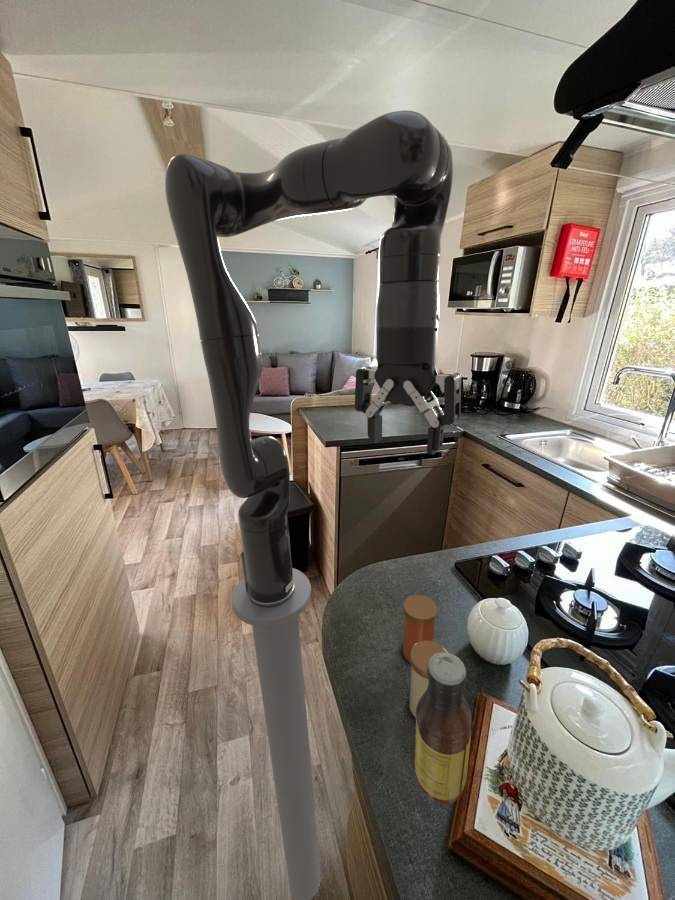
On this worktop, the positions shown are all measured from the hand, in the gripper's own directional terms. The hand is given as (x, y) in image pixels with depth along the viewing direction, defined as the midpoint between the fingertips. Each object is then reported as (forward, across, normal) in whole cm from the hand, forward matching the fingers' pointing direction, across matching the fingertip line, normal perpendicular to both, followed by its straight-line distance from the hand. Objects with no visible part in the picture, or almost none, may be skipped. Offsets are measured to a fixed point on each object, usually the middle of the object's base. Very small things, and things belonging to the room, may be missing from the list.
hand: (403, 446), depth 52 cm
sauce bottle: (+38, +13, -14) cm, 43 cm away
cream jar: (+38, +8, -6) cm, 39 cm away
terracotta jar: (+38, +3, +2) cm, 38 cm away
